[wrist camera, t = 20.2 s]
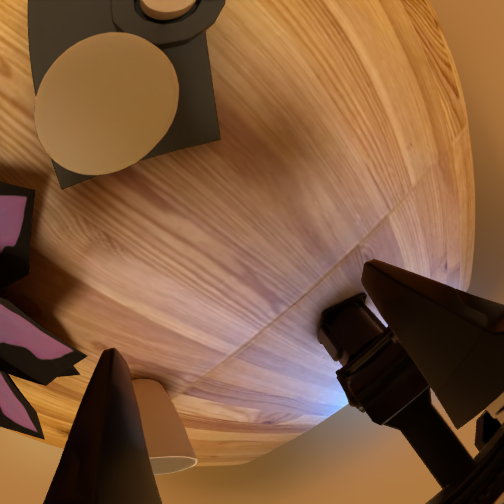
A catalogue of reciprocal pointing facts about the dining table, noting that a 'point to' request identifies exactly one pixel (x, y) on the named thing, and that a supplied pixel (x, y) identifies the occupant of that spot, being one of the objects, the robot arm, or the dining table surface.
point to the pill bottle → (106, 103)
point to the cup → (162, 429)
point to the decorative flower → (24, 320)
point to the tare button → (166, 8)
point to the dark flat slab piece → (153, 30)
